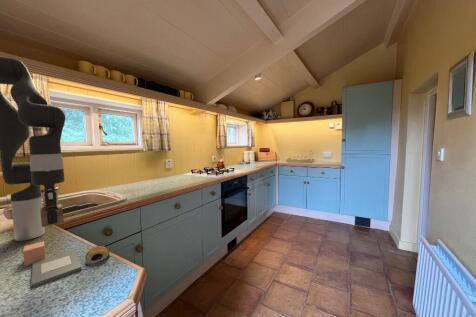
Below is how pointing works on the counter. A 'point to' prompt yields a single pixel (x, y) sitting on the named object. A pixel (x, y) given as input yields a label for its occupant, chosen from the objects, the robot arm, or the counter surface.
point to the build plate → (54, 267)
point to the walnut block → (44, 215)
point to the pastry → (96, 254)
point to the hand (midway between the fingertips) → (52, 221)
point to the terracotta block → (34, 252)
